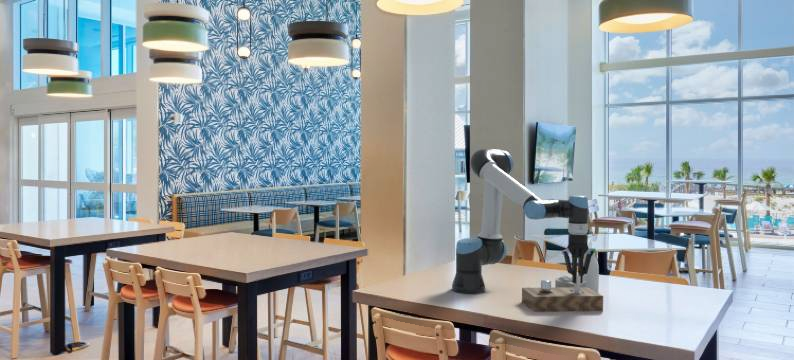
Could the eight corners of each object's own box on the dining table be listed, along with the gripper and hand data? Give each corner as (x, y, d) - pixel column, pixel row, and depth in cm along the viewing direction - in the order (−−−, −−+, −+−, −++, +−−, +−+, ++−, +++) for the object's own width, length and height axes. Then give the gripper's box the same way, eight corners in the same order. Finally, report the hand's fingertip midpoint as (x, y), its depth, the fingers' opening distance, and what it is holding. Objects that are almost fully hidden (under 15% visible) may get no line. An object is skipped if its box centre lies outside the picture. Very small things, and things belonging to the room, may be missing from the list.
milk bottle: (599, 293, 257) (600, 249, 256) (581, 293, 258) (582, 248, 258) (597, 290, 264) (598, 247, 264) (579, 289, 266) (580, 246, 265)
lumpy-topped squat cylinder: (576, 301, 243) (576, 281, 243) (549, 296, 252) (550, 276, 252) (589, 297, 250) (589, 278, 250) (562, 292, 259) (563, 273, 259)
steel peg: (542, 296, 231) (542, 281, 231) (539, 294, 235) (539, 279, 235) (552, 296, 231) (552, 281, 231) (548, 293, 235) (549, 279, 235)
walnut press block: (533, 311, 225) (534, 296, 225) (521, 301, 241) (522, 287, 240) (602, 311, 227) (603, 295, 227) (586, 301, 243) (586, 287, 243)
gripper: (565, 234, 229) (565, 293, 230) (597, 234, 230) (596, 292, 231) (559, 232, 237) (558, 289, 237) (589, 232, 238) (588, 288, 238)
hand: (577, 291), depth 234 cm, fingers closed
